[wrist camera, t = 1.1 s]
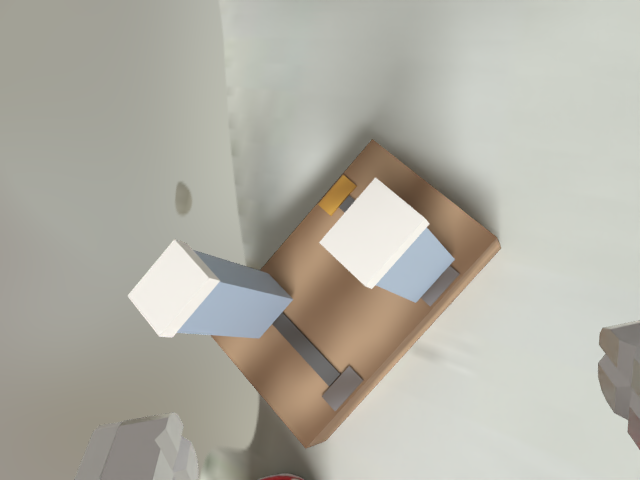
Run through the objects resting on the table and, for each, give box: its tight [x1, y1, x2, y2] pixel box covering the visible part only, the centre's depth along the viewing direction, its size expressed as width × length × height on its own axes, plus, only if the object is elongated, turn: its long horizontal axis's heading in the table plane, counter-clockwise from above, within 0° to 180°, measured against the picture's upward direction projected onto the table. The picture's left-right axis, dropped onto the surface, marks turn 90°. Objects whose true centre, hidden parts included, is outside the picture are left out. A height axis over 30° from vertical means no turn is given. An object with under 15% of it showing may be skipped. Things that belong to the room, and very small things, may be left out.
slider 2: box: [319, 177, 455, 303], centre depth 33 cm, size 3×4×12 cm
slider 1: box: [128, 239, 293, 338], centre depth 37 cm, size 3×4×12 cm
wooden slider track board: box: [211, 139, 501, 448], centre depth 43 cm, size 12×20×4 cm, turn 136°
